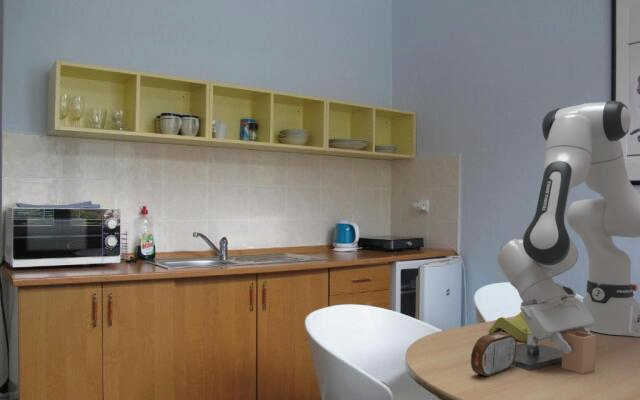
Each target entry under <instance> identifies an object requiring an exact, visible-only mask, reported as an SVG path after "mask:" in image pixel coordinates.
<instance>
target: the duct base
mask: <svg viewBox="0 0 640 400" xmlns="http://www.w3.org/2000/svg"><path fill="white" fill-rule="evenodd" d="M560 363H562V349H559V348H555V347H552V346H548V345H544V344H541V340H539V339H537V338H536V337H535V336H534V335H533V334H528V336H527V342H523V343H520V344H519V343H518V344H517V345H516V354H515V360H514V362H513V364H512V366H515V367H518V368H521V369H523V370H527V371H532V370H537V369H540V368H544V367H548V366H552V365H555V364H556V365H557V364H560Z"/></svg>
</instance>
